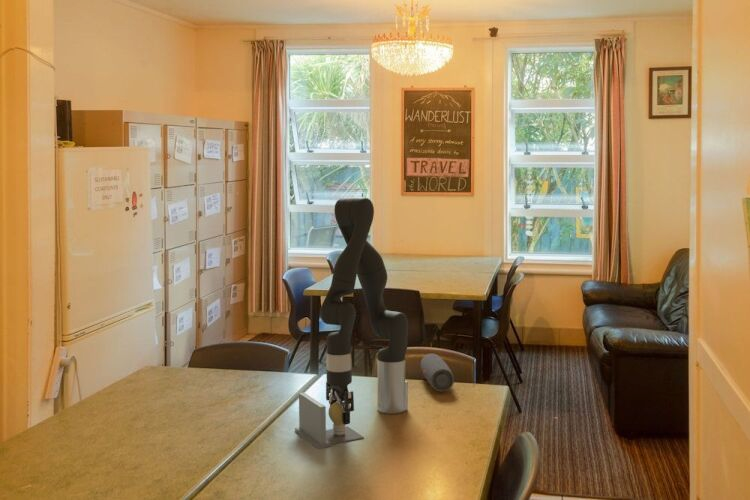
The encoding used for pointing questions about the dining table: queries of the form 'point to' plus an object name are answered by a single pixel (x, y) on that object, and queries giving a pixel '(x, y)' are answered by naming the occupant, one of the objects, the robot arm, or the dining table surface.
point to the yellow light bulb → (337, 419)
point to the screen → (312, 421)
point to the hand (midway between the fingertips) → (339, 419)
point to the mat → (342, 436)
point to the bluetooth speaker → (437, 372)
